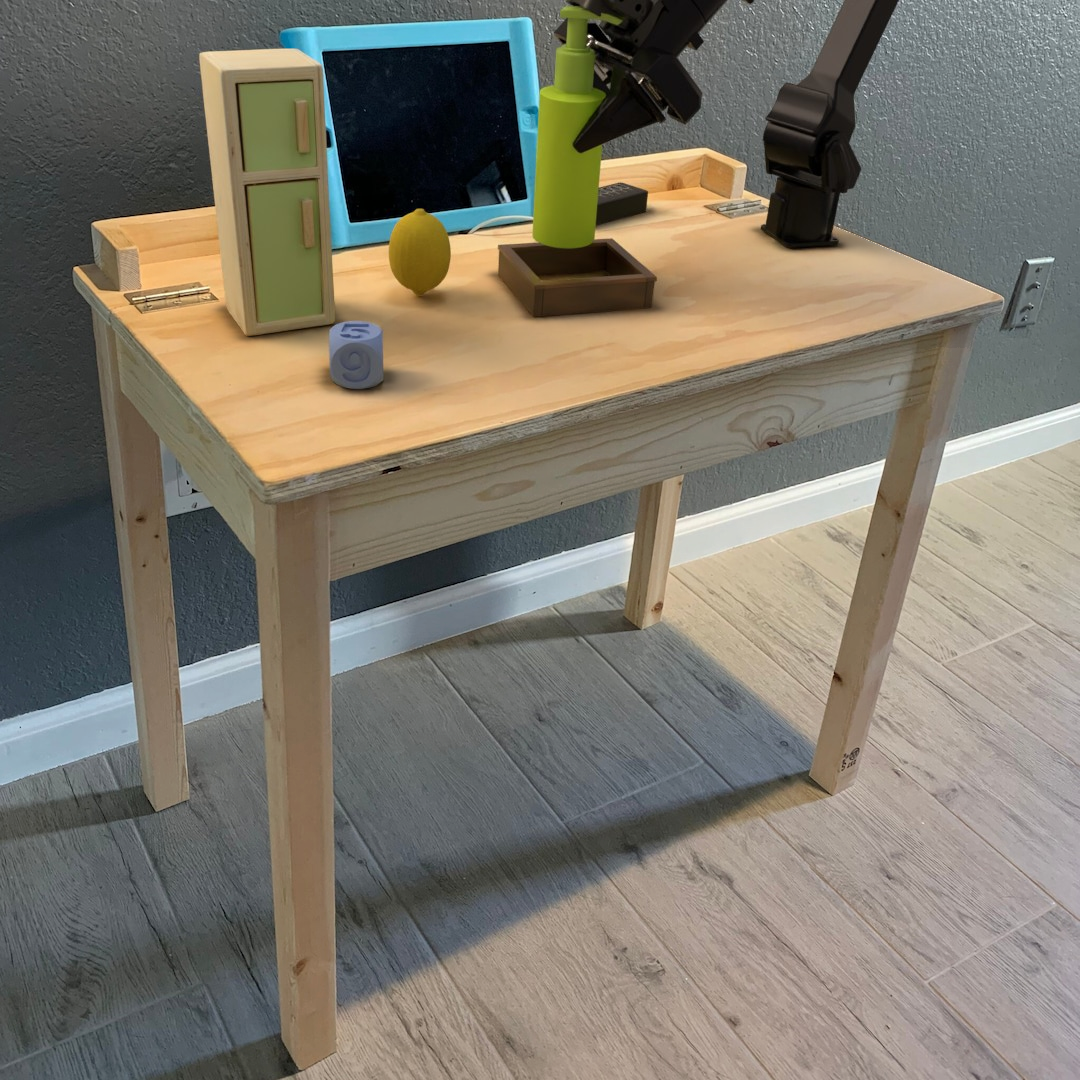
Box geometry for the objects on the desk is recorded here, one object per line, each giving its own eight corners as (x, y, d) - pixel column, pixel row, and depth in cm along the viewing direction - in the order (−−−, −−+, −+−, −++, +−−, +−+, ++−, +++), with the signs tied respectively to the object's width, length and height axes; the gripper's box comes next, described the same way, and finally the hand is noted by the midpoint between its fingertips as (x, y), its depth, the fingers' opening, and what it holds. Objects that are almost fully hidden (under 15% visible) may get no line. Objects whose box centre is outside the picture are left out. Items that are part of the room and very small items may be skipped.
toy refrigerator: (246, 341, 93) (222, 69, 82) (223, 309, 99) (197, 50, 87) (339, 328, 96) (328, 66, 85) (312, 298, 102) (298, 47, 90)
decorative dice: (383, 367, 91) (382, 320, 88) (383, 389, 87) (382, 341, 85) (332, 367, 90) (330, 320, 88) (330, 389, 87) (328, 341, 84)
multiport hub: (647, 211, 130) (650, 190, 128) (582, 229, 123) (584, 207, 121) (618, 201, 132) (620, 181, 131) (553, 218, 125) (554, 197, 124)
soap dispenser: (598, 253, 104) (619, 18, 93) (525, 243, 105) (536, 10, 94) (610, 232, 109) (630, 6, 97) (540, 222, 110) (552, -2, 98)
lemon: (462, 297, 104) (464, 211, 100) (417, 312, 101) (417, 223, 96) (422, 280, 107) (422, 195, 103) (376, 293, 104) (374, 206, 99)
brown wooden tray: (609, 267, 113) (612, 238, 111) (653, 308, 105) (657, 276, 103) (496, 275, 110) (497, 244, 108) (532, 317, 101) (534, 285, 99)
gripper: (580, -83, 101) (463, 53, 103) (687, -56, 87) (550, 101, 89) (648, 11, 109) (538, 137, 111) (757, 50, 95) (629, 193, 97)
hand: (560, 140), depth 102 cm, fingers closed on soap dispenser, 6 cm apart
